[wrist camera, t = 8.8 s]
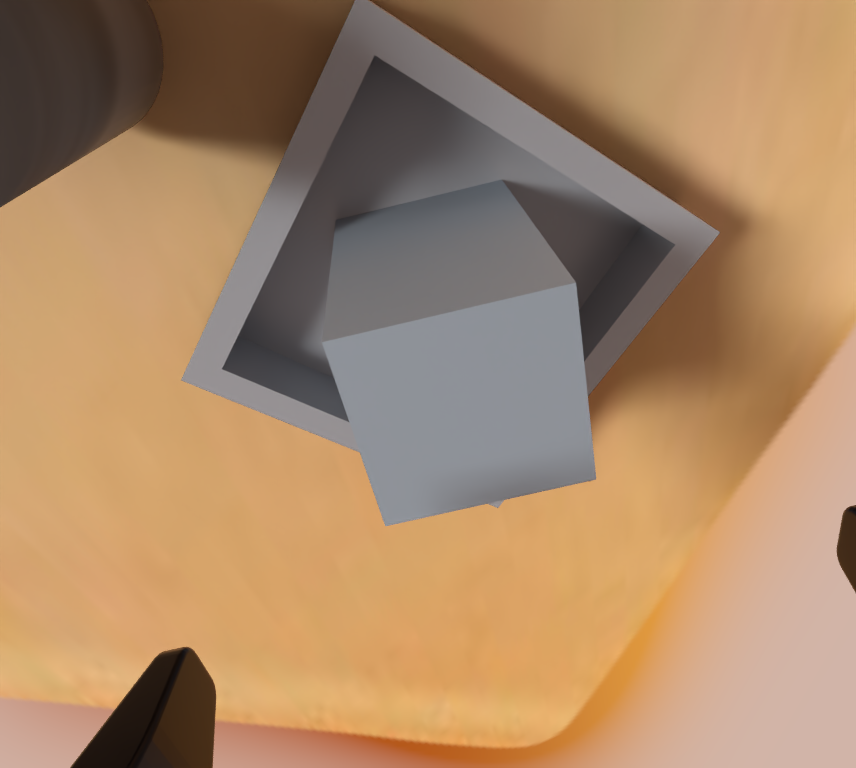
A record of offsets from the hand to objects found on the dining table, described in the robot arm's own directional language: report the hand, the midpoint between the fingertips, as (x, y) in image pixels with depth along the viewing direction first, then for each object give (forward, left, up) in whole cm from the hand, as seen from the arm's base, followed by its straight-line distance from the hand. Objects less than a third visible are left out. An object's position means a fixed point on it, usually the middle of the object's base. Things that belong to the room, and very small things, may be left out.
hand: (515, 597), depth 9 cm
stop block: (0, 0, -11) cm, 11 cm away
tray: (0, 0, -12) cm, 12 cm away
